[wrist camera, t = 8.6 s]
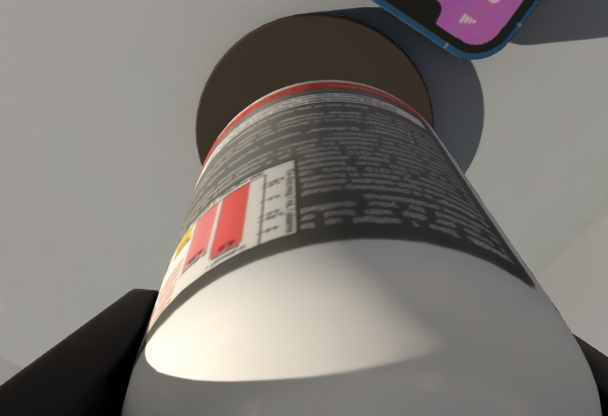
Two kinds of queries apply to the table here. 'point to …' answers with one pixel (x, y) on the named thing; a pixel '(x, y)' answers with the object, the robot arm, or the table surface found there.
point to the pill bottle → (348, 279)
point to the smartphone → (464, 22)
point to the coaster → (304, 68)
